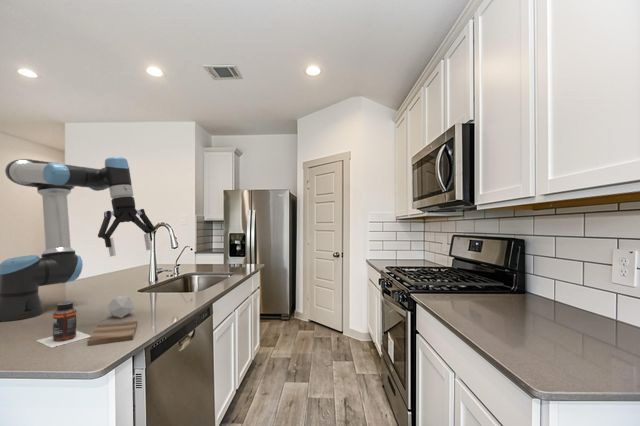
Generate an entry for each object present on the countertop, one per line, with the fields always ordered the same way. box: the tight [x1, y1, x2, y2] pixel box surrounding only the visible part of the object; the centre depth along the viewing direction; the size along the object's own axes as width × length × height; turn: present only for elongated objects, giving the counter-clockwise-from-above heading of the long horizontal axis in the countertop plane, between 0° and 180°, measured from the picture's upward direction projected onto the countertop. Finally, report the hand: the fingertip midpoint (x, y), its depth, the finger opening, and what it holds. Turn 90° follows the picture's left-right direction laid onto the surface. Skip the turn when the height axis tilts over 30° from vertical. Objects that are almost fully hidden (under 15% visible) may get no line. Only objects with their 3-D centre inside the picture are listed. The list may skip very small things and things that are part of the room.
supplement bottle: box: [52, 301, 77, 341], centre depth 105 cm, size 6×6×11 cm
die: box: [107, 295, 134, 319], centre depth 129 cm, size 8×9×10 cm
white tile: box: [35, 330, 91, 349], centre depth 104 cm, size 11×11×1 cm
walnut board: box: [87, 320, 138, 347], centre depth 108 cm, size 16×12×2 cm
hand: (132, 252), depth 122 cm, fingers open, 13 cm apart
